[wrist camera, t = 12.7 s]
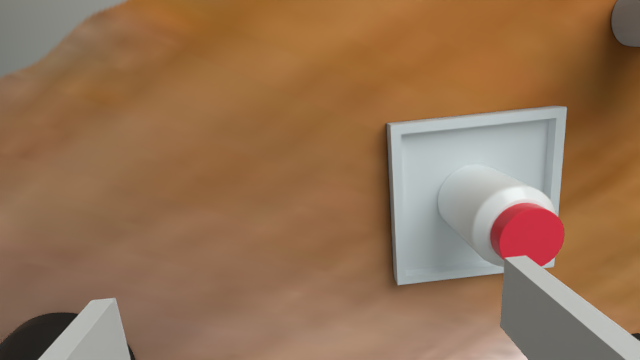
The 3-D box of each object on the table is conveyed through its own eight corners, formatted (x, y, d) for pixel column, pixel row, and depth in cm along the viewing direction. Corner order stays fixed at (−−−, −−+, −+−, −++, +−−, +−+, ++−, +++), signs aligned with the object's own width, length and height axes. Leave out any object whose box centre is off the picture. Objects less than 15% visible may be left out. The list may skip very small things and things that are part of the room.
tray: (393, 276, 44) (397, 285, 42) (386, 123, 39) (390, 125, 37) (544, 259, 45) (553, 266, 43) (555, 105, 40) (567, 106, 38)
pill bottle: (520, 191, 41) (597, 230, 31) (472, 243, 43) (530, 298, 32) (470, 149, 40) (533, 176, 29) (422, 205, 41) (466, 249, 31)
